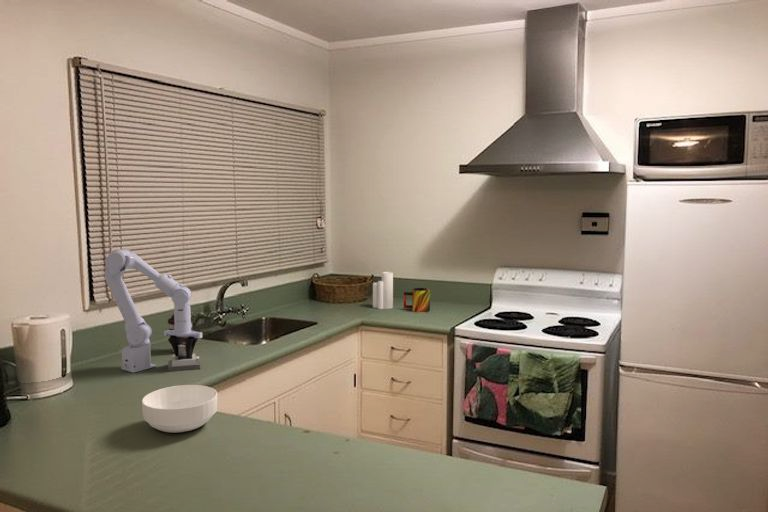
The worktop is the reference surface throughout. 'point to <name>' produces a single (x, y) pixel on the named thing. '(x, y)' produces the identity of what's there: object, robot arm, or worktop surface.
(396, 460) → the worktop surface
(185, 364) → the camera body
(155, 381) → the worktop surface
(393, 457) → the worktop surface
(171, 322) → the coffee cup
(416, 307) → the mug
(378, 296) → the vase
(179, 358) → the lens
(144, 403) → the bowl
